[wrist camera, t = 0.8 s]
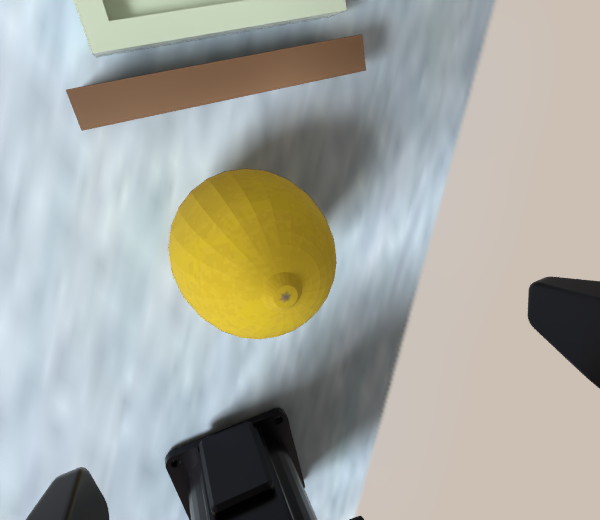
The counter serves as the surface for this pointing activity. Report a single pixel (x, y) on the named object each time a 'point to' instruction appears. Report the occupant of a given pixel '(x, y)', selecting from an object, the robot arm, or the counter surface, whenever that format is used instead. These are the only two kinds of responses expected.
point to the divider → (214, 81)
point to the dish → (187, 20)
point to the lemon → (252, 253)
